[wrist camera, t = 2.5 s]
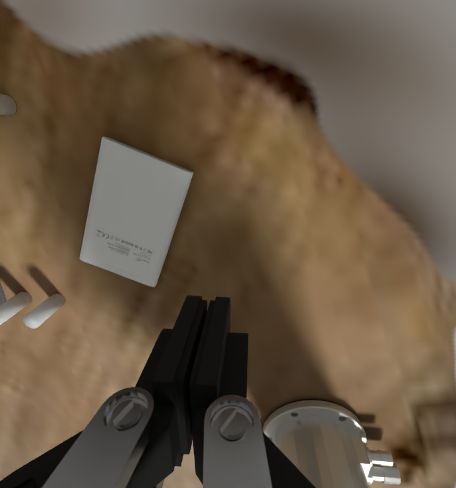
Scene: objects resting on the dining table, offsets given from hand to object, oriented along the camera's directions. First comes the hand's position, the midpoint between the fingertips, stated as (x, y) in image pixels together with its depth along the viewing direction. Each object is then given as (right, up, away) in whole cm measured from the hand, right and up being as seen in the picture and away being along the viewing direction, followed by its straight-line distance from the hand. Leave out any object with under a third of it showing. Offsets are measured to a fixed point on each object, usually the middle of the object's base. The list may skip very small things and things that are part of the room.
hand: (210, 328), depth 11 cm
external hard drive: (-8, +6, +16) cm, 19 cm away
